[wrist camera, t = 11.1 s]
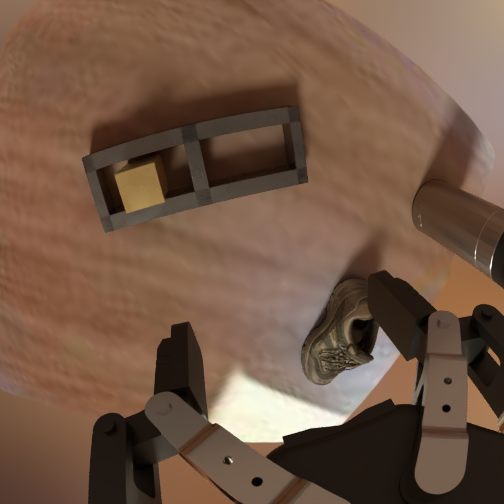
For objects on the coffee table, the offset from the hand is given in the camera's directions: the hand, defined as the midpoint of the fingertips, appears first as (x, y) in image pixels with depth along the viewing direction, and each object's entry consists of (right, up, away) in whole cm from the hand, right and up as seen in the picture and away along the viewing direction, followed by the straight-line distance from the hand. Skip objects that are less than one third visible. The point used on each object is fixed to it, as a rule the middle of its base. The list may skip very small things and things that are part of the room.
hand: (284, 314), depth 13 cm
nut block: (-13, +12, +20) cm, 27 cm away
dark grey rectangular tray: (-8, +13, +21) cm, 26 cm away
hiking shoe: (+12, -10, +37) cm, 40 cm away
